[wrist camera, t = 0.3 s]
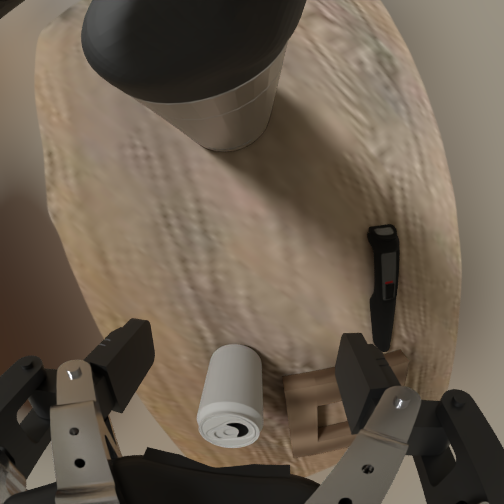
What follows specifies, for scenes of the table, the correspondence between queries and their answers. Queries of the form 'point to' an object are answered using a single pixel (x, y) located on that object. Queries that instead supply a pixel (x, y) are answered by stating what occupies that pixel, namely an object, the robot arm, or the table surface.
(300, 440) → the hole board
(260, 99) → the robot arm
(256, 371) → the beverage can
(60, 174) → the table surface
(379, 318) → the electric trimmer
